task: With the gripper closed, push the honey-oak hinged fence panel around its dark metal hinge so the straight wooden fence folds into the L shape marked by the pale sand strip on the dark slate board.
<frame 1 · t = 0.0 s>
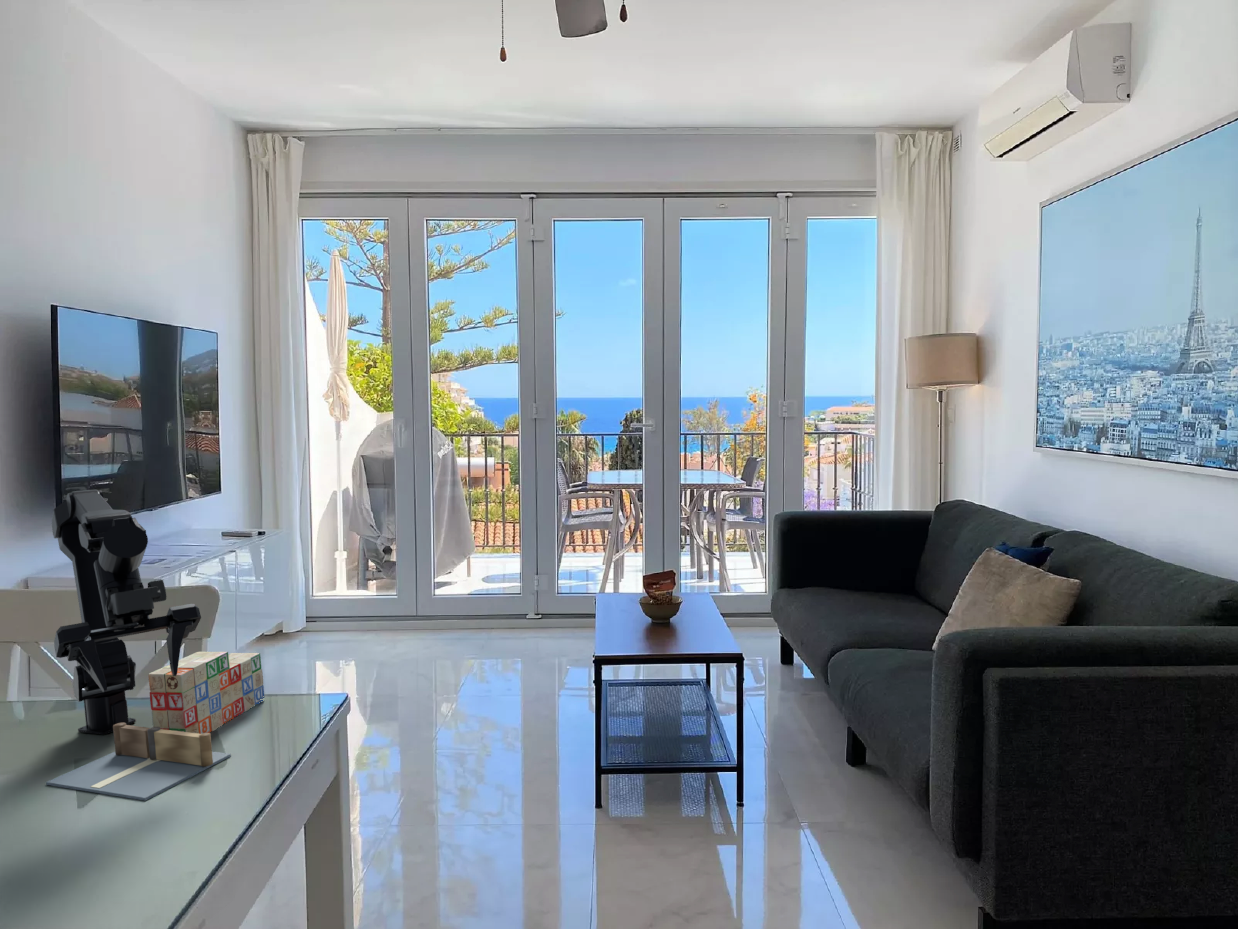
hand: (141, 683, 126), 15 cm above the table, tool tilted 35°, fingers open, 9 cm apart
stack of blocks: (213, 723, 152), on the table
layout board: (141, 770, 132), on the table
fixed fence section: (138, 758, 136), resting on layout board
folding fence panel: (180, 746, 133), point 3 cm above the table, hinge at 0.0°
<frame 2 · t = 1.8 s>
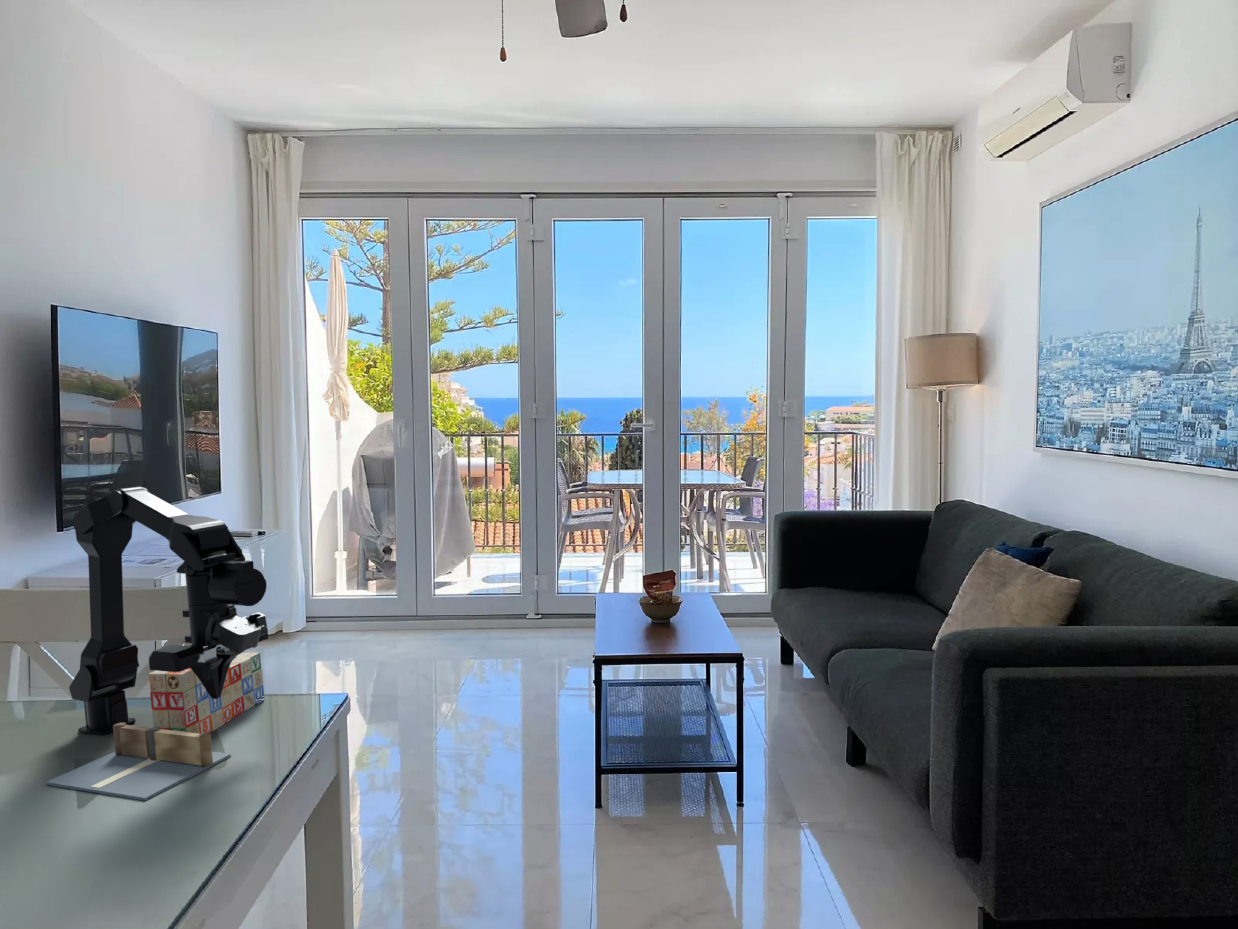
hand: (216, 698, 137), 9 cm above the table, tool pointing down, fingers closed
nothing on the table moved.
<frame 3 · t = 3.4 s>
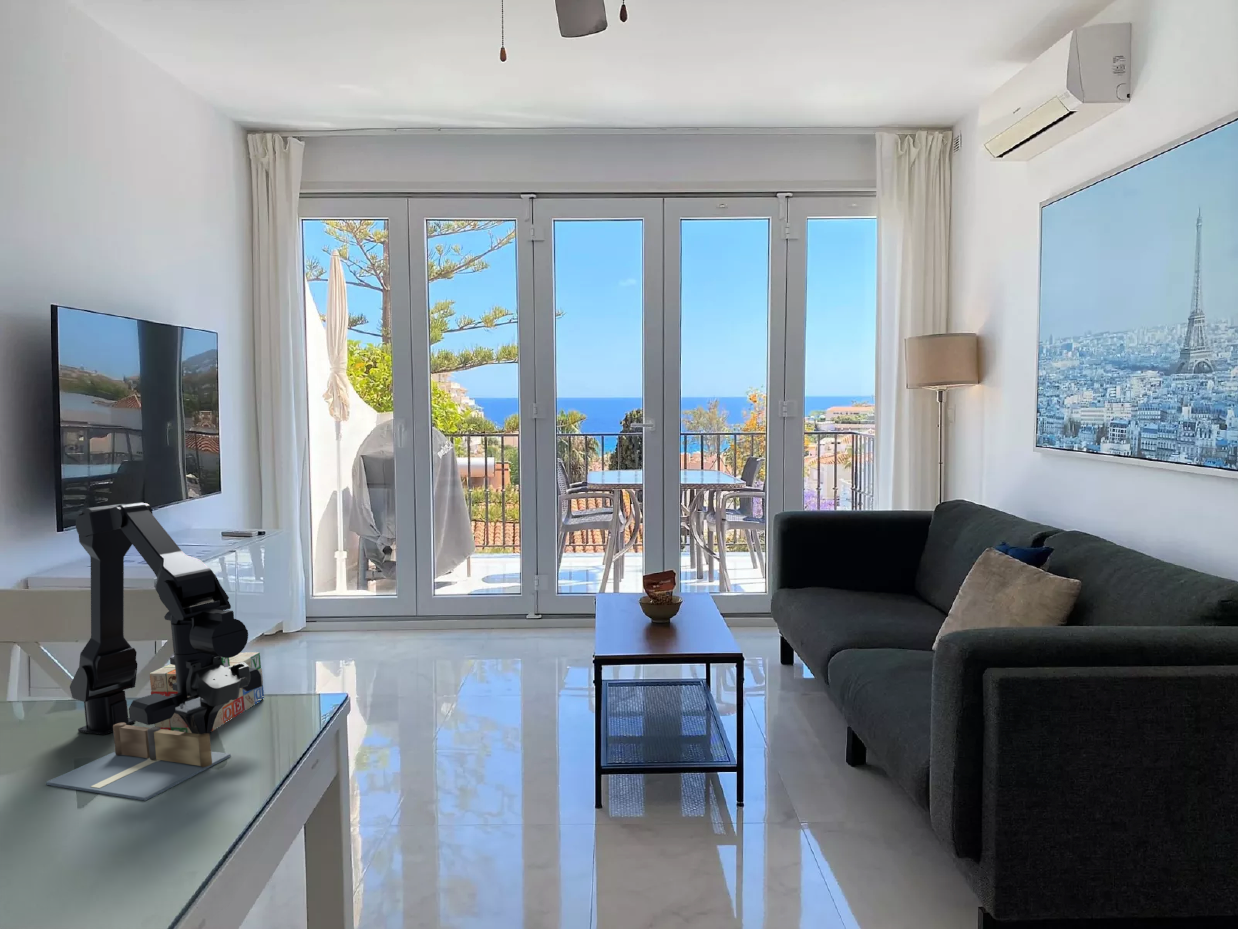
hand: (204, 747, 134), 2 cm above the table, tool pointing down, fingers closed
folding fence panel: (179, 746, 133), point 3 cm above the table, hinge at -1.0°, touching gripper
everything else where it was.
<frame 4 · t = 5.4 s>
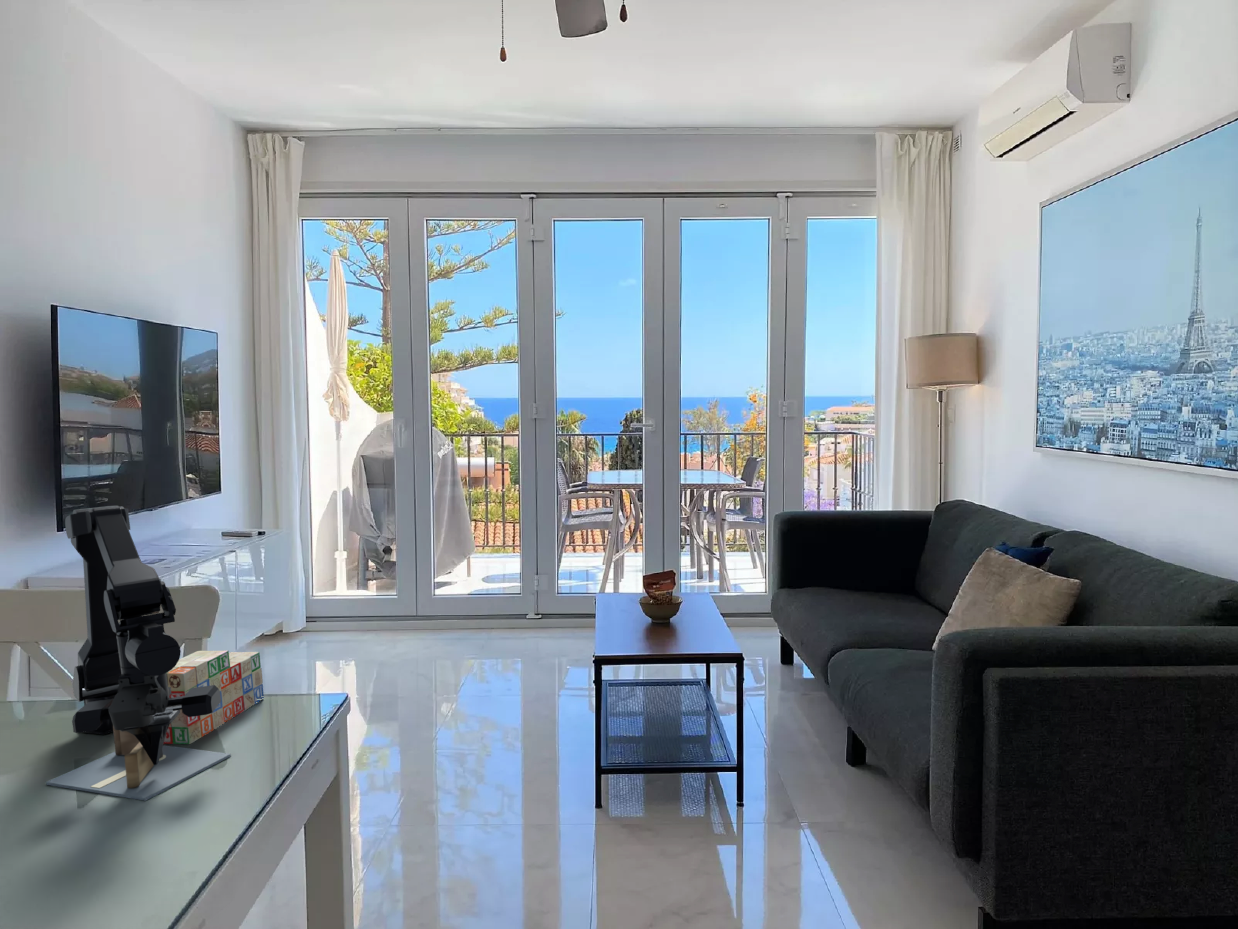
hand: (156, 763, 128), 2 cm above the table, tool pointing down, fingers closed
folding fence panel: (144, 756, 130), point 3 cm above the table, hinge at -57.5°, touching gripper
everything else where it was.
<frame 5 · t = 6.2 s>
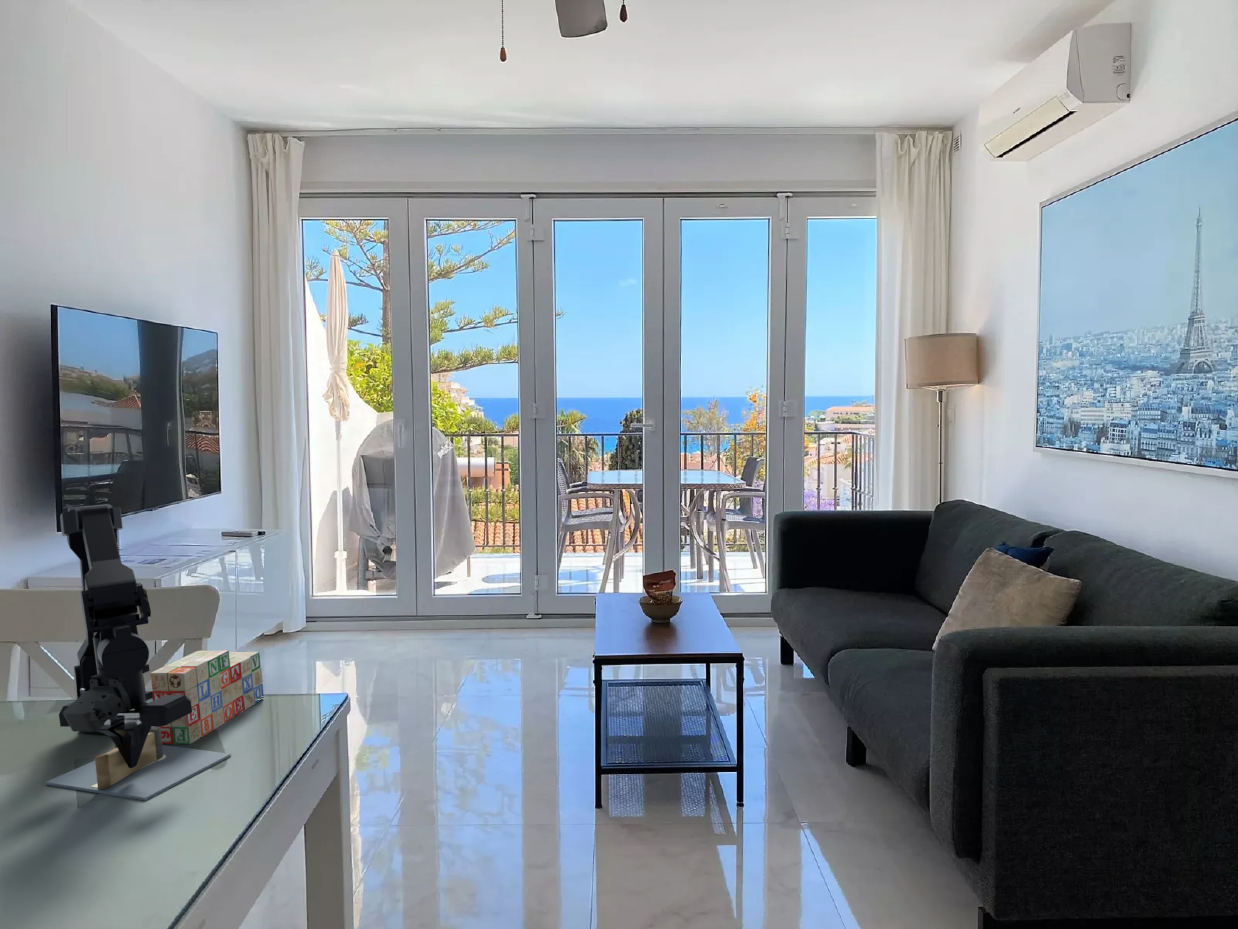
hand: (132, 767, 127), 2 cm above the table, tool pointing down, fingers closed
folding fence panel: (130, 756, 130), point 3 cm above the table, hinge at -81.1°, touching gripper
everything else where it was.
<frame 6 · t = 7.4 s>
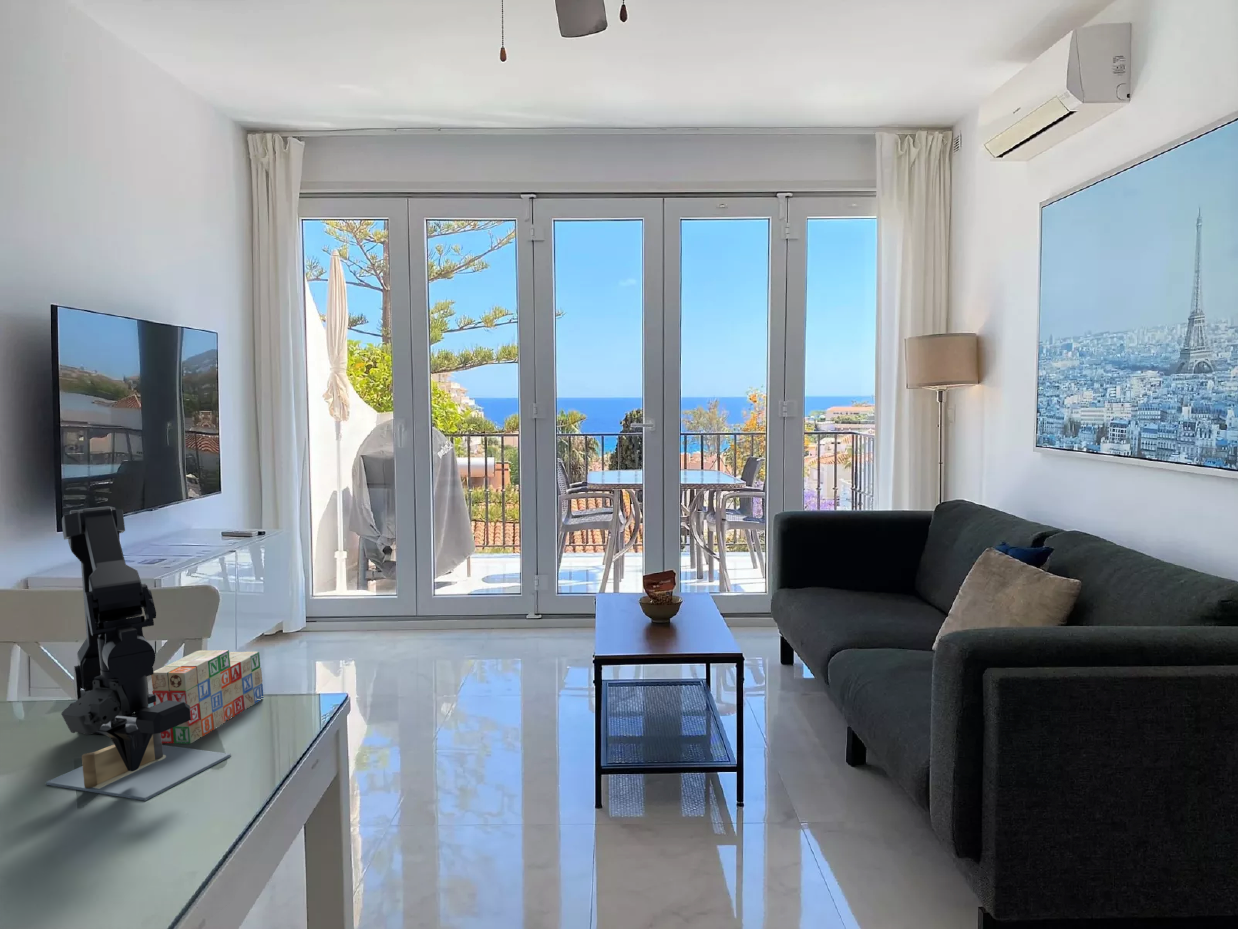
hand: (133, 770, 126), 2 cm above the table, tool pointing down, fingers closed
folding fence panel: (123, 755, 130), point 3 cm above the table, hinge at -95.4°
everything else where it was.
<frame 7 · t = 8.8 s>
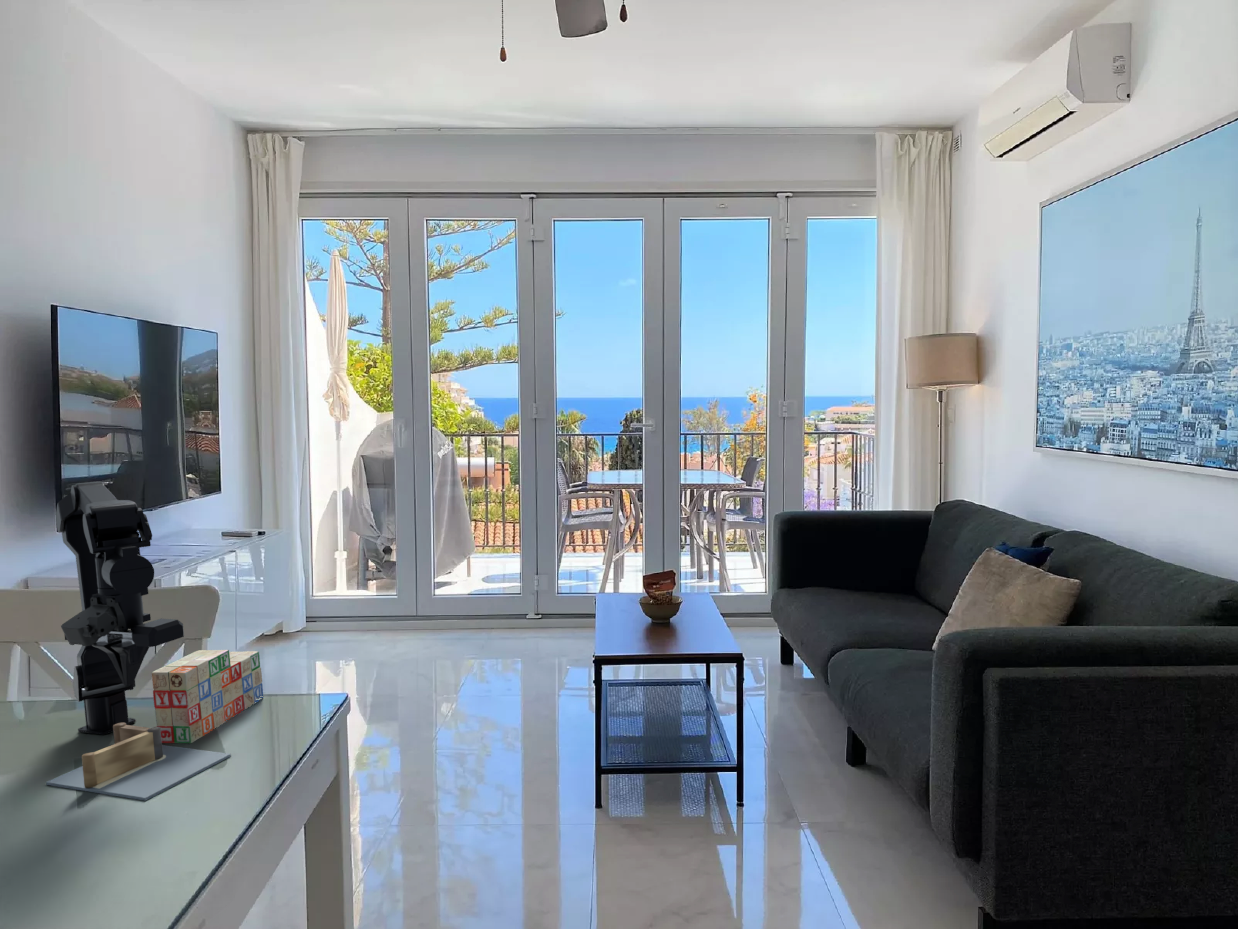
hand: (128, 684, 133), 13 cm above the table, tool pointing down, fingers closed
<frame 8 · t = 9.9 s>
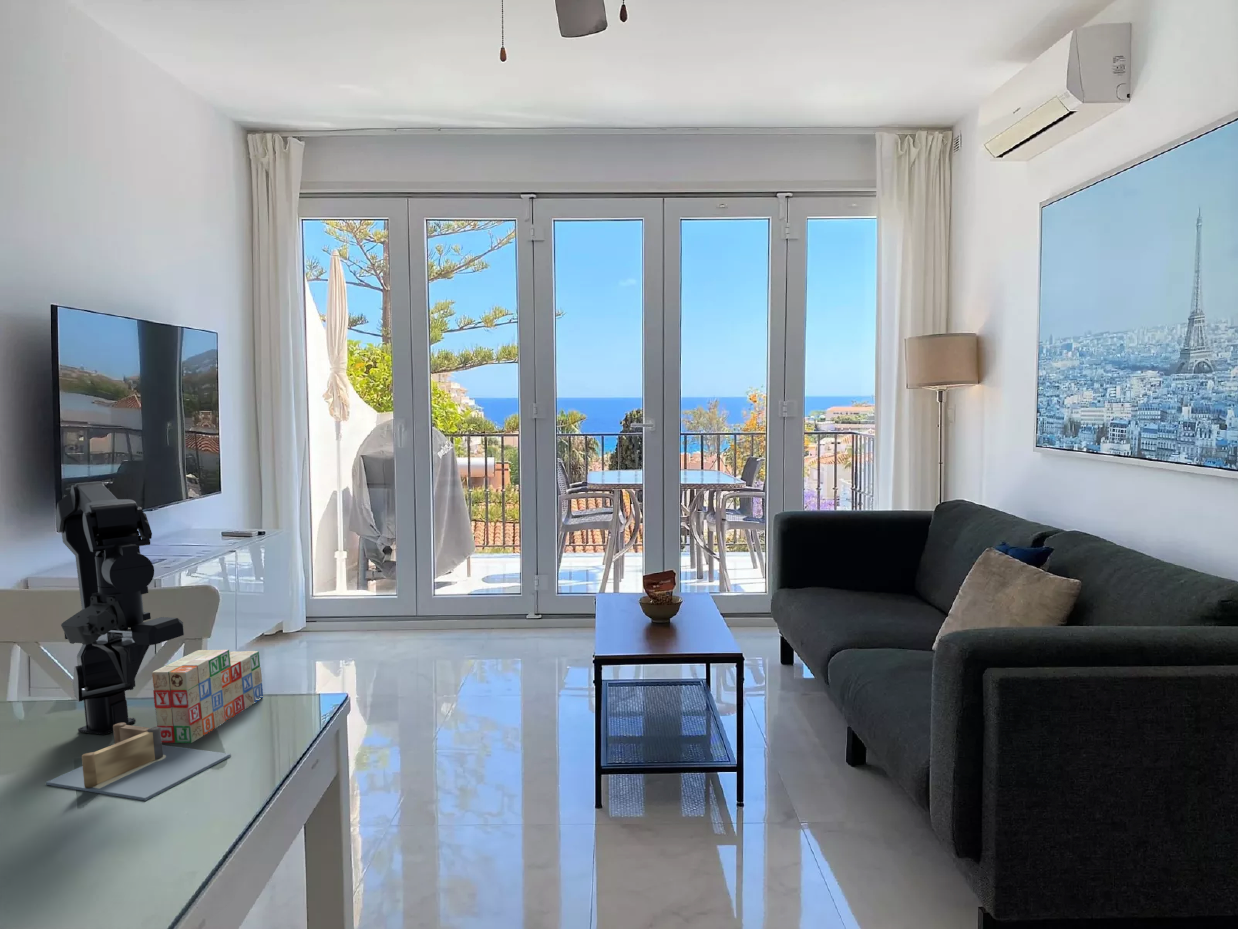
hand: (128, 683, 133), 13 cm above the table, tool pointing down, fingers closed
at the end: folding fence panel at -95° (first picture: +0°); stack of blocks moved 1.4 cm from its start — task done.
